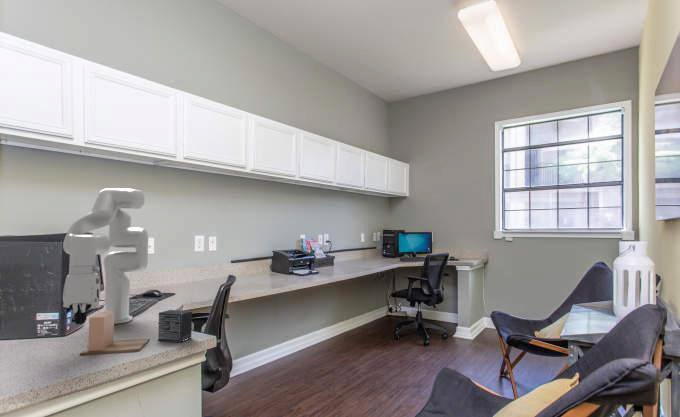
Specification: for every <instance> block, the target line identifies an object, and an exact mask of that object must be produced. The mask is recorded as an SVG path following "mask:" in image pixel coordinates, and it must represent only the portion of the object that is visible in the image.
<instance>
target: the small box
mask: <svg viewBox="0 0 680 417" xmlns="http://www.w3.org/2000/svg"><path fill="white" fill-rule="evenodd" d="M192 320H193V311H192V310H177V309H168V310H164V311H161V312H158V336H157V341H160V342H169V341H176V342H175V343H179V342H181V341H183V340H185V339H187V338H190V337H191V338H192V328H193V327H192ZM191 338H190V339H191ZM185 341H186V340H185ZM183 342H184V341H183ZM181 343H182V342H181Z"/></svg>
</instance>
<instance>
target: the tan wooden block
mask: <svg viewBox="0 0 680 417" xmlns="http://www.w3.org/2000/svg"><path fill="white" fill-rule="evenodd" d="M88 321H89V323H88V343H87V344H88V346H87V348H88V351H94V350H104V349H105V348H106V347H107V346H109V345H110V344H111V343H113V341H114V332H115V331H114V330H115V329H114V327H115V326H114V325H115V324H114V311H112V312H105V311H99V312H98V313H95V314H94V315H92V316H90V317H89V319H88Z"/></svg>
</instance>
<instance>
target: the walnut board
mask: <svg viewBox="0 0 680 417" xmlns="http://www.w3.org/2000/svg"><path fill="white" fill-rule="evenodd" d="M149 342H150V338H141V339H140V338H139V339H123V340H113V343H111V344H110V345H109V346H107V347H106V348H105V349H104V350H94V351H88V347H86V348H85V349H83V350H82V351H80V353H79V356H89V355H90V356H91V355H103V354H104V355H105V354H119V353H133V352H134V353H135V352H141V350H142V349H143V348H144V347H145V346H147V345H148V343H149Z"/></svg>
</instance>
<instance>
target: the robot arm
mask: <svg viewBox="0 0 680 417" xmlns="http://www.w3.org/2000/svg"><path fill="white" fill-rule="evenodd" d="M145 201H146V200H145V195H144V193H143V191H142V190H139V189H135V188H134V189H133V188H116V187H115V188H104V189H102V190H100V191H99V193H98V194H97V197H96V198H95V201H94V203H93V207H92V208H91V211H90V212H89V213H88V214H85V215H84V216H82V217H80V218H79V219H77V220H76V221H74V222H73V223H72V224H71V225H70V227H69V228H68V230H67V232H66V235H65V236H64V240H63V244H62V245H63V246H62V247H63V248H62V249H63V251H64V253H66V254H68V255H69V269H68V271H69V272H68V273H69V274H67V275H66V277H65V282H64V285H63V293H62V294H63V295H62V302H63V305H62V307H64V308H67V309H70V310H72V311H73V313H74V322H75V325H77V326H78V325H83V324H85V323H86V321H87V320H88V319H87V317H88V316H87V314H88V311H89V310H90V309H91V308H93V307H96V306H98V305H100V302H99V300H101V282H100V276H99V274H98V273H96V272H97V271H99V272H100V270H101V268H100V266H97V264H96V262H97V261H96V260H97V255H98V256H99V255H103V254H106V253H107V252H108V253H107V254H106V255H105V256H104V259H103V266H104V267H103V268H104V274H105V282H104V283H105V285H104V286H105V287H104V292H105V293H104V312H112V311H114V325H117V324H119V325H120V324H125V323H128V322H130V321H132V320H133V315H130V313H129V312H130V284H131V282H130V279H129V277H128V276H127V274H125V273H139V272H144V271H145V270H146V269H147V267H148V263H149V262H148V259H149V257H148V256H149V233H148V231H147V229H145V228H143V227H132V226H131V225H132V217H131V215H130V213H129V212H128V211H127V209H132V210H133V209H136V210H137V209H141V208H142V207H143V206H144V204H145ZM106 226H109V227H108V236H107V235H106V234H105V235H104V234H101V233H100V234H99V233H98V234H94V233H93V234H92V233H91V234H89V233H88V232H91V231H94V230H97V229H102V228H104V227H106ZM87 233H88V234H87ZM110 248H113V249H135V250H131V251H130V250H128V251H127V250H125V251H124V250H122V251H118V250H116V251H111V252H109V250H110Z"/></svg>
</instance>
